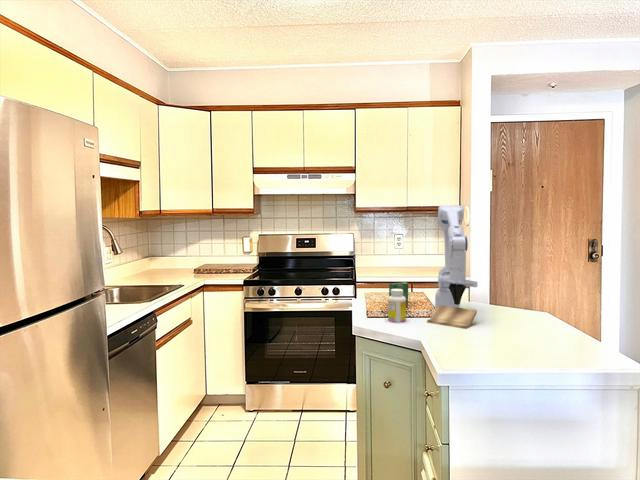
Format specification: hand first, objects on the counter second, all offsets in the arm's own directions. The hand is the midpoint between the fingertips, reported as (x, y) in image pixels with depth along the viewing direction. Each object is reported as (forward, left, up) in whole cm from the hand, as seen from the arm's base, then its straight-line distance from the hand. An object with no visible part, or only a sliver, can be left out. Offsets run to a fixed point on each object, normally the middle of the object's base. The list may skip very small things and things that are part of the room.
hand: (457, 304), depth 181 cm
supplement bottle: (-18, -13, -8) cm, 24 cm away
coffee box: (-24, -1, -8) cm, 25 cm away
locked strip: (0, -8, -6) cm, 10 cm away
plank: (0, -3, -4) cm, 5 cm away
